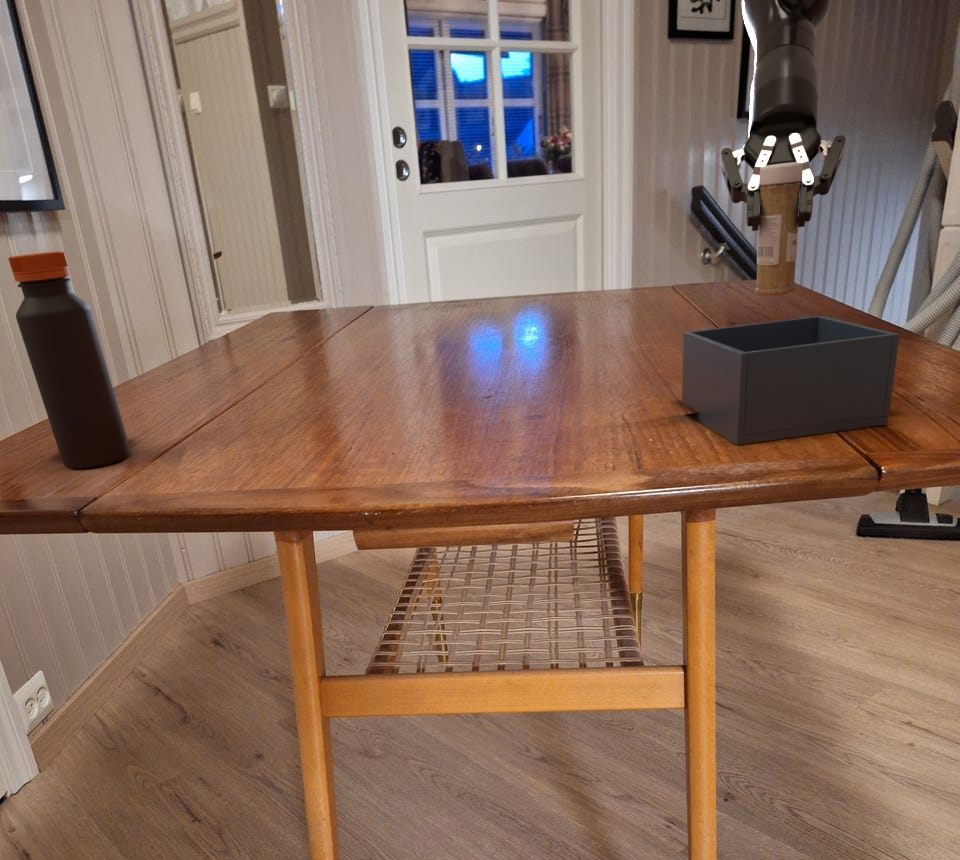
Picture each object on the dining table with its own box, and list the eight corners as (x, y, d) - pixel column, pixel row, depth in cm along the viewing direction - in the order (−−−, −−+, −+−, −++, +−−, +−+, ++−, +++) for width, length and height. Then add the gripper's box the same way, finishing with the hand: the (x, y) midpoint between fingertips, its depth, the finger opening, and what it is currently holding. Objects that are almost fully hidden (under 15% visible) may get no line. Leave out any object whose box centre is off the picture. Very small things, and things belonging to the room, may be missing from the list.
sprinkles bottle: (802, 292, 100) (811, 160, 94) (766, 297, 100) (772, 165, 94) (782, 288, 104) (789, 162, 98) (747, 293, 104) (752, 166, 98)
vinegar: (75, 455, 94) (12, 255, 85) (138, 448, 94) (83, 248, 85) (54, 473, 88) (-16, 260, 79) (122, 465, 88) (60, 252, 79)
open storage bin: (813, 395, 89) (821, 315, 85) (887, 425, 77) (900, 333, 74) (681, 412, 88) (683, 331, 84) (736, 445, 76) (741, 353, 72)
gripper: (720, 82, 100) (712, 205, 95) (853, 64, 96) (852, 191, 91) (720, 136, 107) (713, 252, 102) (844, 121, 103) (843, 242, 98)
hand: (778, 223), depth 97 cm, fingers closed on sprinkles bottle, 4 cm apart
